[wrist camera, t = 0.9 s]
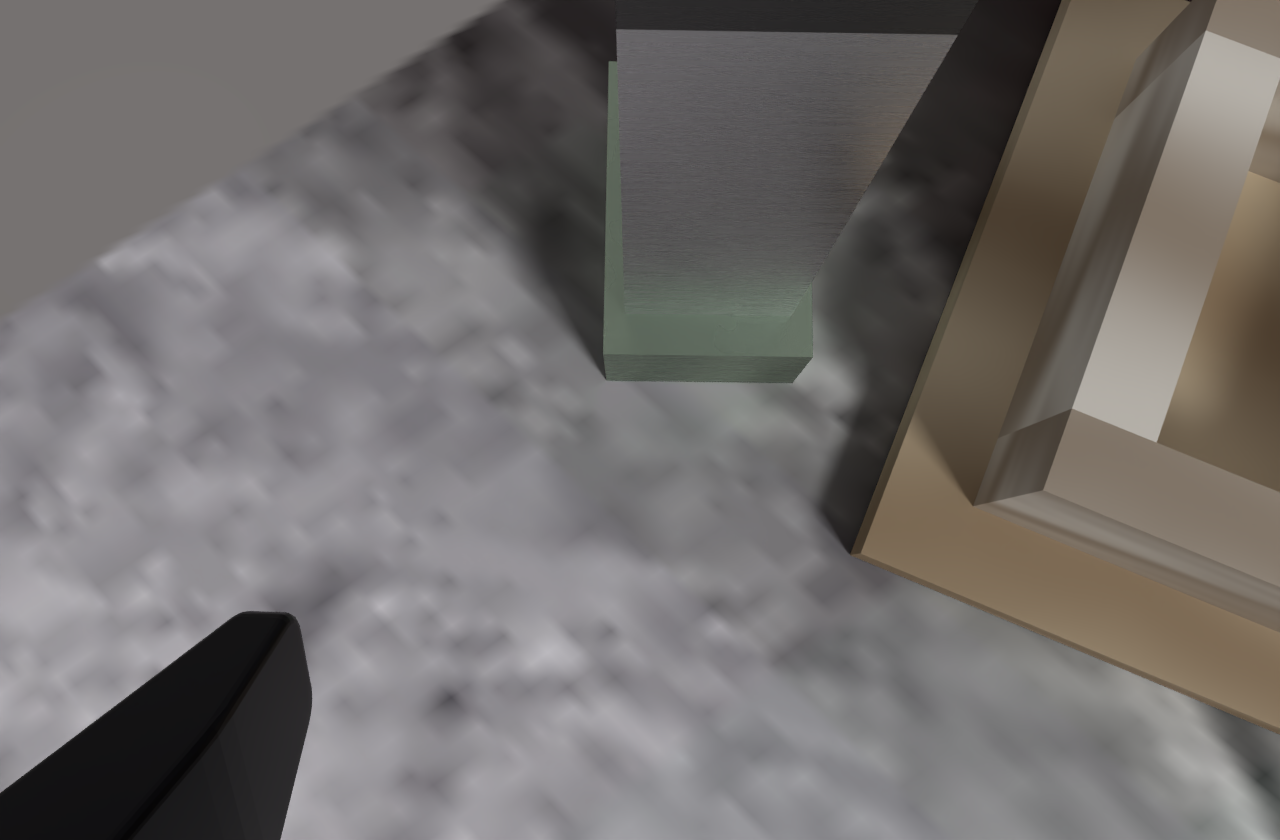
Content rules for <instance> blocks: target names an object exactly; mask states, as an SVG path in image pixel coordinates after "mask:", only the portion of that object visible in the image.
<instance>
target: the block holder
mask: <svg viewBox="0 0 1280 840" xmlns="http://www.w3.org/2000/svg"><path fill="white" fill-rule="evenodd" d="M850 555H851V556H854V557H856V558H859V559H861V560H863V561H866V562H868V563H871V564H873V565H875V566H878V567H880V568H883V569H885V570H887V571H890V572H892V573H895V574H897V575H899V576H902V577H904V578H906V579H909V580H911V581H914V582H916V583H918V584H921V585H923V586H926V587H928V588H930V589H933V590H935V591H938V592H940V593H942V594H945V595H947V596H950V597H952V598H954V599H957V600H959V601H962V602H964V603H966V604H969V605H971V606H974V607H976V608H978V609H981V610H983V611H985V612H988V613H990V614H993V615H995V616H997V617H1000V618H1002V619H1005V620H1007V621H1009V622H1012V623H1014V624H1017V625H1019V626H1021V627H1024V628H1026V629H1029V630H1031V631H1033V632H1036V633H1038V634H1041V635H1043V636H1045V637H1048V638H1050V639H1053V640H1055V641H1057V642H1060V643H1062V644H1064V645H1067V646H1069V647H1072V648H1074V649H1076V650H1079V651H1081V652H1084V653H1086V654H1088V655H1091V656H1093V657H1096V658H1098V659H1100V660H1103V661H1105V662H1108V663H1110V664H1112V665H1115V666H1117V667H1120V668H1122V669H1124V670H1127V671H1129V672H1132V673H1134V674H1136V675H1139V676H1141V677H1143V678H1146V679H1148V680H1151V681H1153V682H1155V683H1158V684H1160V685H1163V686H1165V687H1167V688H1170V689H1172V690H1175V691H1177V692H1179V693H1182V694H1184V695H1187V696H1189V697H1191V698H1194V699H1196V700H1199V701H1201V702H1203V703H1206V704H1208V705H1211V706H1213V707H1215V708H1218V709H1220V710H1222V711H1225V712H1227V713H1230V714H1232V715H1234V716H1237V717H1239V718H1242V719H1244V720H1246V721H1249V722H1251V723H1254V724H1256V725H1258V726H1261V727H1263V728H1266V729H1268V730H1270V731H1273V732H1275V733H1278V734H1280V0H1192V1H1191V2H1188V1H1186V0H1062V1H1061V4H1060V6H1059V9H1058V11H1057V14H1056V17H1055V19H1054V22H1053V25H1052V27H1051V30H1050V32H1049V35H1048V38H1047V40H1046V43H1045V46H1044V48H1043V51H1042V53H1041V56H1040V59H1039V61H1038V64H1037V66H1036V69H1035V72H1034V74H1033V77H1032V80H1031V82H1030V85H1029V87H1028V90H1027V93H1026V95H1025V98H1024V101H1023V103H1022V106H1021V108H1020V111H1019V114H1018V116H1017V119H1016V121H1015V124H1014V127H1013V129H1012V132H1011V135H1010V137H1009V140H1008V142H1007V145H1006V148H1005V150H1004V153H1003V156H1002V158H1001V161H1000V163H999V166H998V169H997V171H996V174H995V177H994V179H993V182H992V184H991V187H990V190H989V192H988V195H987V197H986V200H985V203H984V205H983V208H982V211H981V213H980V216H979V218H978V221H977V224H976V226H975V229H974V232H973V234H972V237H971V239H970V242H969V245H968V247H967V250H966V252H965V255H964V258H963V260H962V263H961V266H960V268H959V271H958V273H957V276H956V279H955V281H954V284H953V287H952V289H951V292H950V294H949V297H948V300H947V302H946V305H945V307H944V310H943V313H942V315H941V318H940V321H939V323H938V326H937V328H936V331H935V334H934V336H933V339H932V342H931V344H930V347H929V349H928V352H927V355H926V357H925V360H924V363H923V365H922V368H921V370H920V373H919V376H918V378H917V381H916V383H915V386H914V389H913V391H912V394H911V397H910V399H909V402H908V404H907V407H906V410H905V412H904V415H903V418H902V420H901V423H900V425H899V428H898V431H897V433H896V436H895V438H894V441H893V444H892V446H891V449H890V452H889V454H888V457H887V459H886V462H885V465H884V467H883V470H882V473H881V475H880V478H879V480H878V483H877V486H876V488H875V491H874V494H873V496H872V499H871V501H870V504H869V507H868V509H867V512H866V514H865V517H864V520H863V522H862V525H861V528H860V530H859V533H858V535H857V538H856V541H855V543H854V546H853V549H852V551H851V554H850Z"/></svg>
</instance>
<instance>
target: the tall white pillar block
mask: <svg viewBox="0 0 1280 840" xmlns="http://www.w3.org/2000/svg"><path fill="white" fill-rule="evenodd" d="M977 2H978V0H615V3H616V37H617V62H616V61H609V74H608V126H607V177H606V228H605V280H604V331H603V358H604V365H605V373H606V380H615V381H686V382H756V383H793V382H794V380H795V379H796V378H797V376H798V375H799V374H800V373H801V371H802V370H803V369H804V368H805V366H806V365H807V364H808V363H809V361H810V360H811V359H812V358H813V333H812V281H813V279H814V277H815V275H816V274H817V272H818V270H819V269H820V267H821V265H822V264H823V262H824V260H825V259H826V257H827V255H828V253H829V252H830V250H831V248H832V247H833V245H834V243H835V242H836V240H837V238H838V237H839V235H840V233H841V232H842V230H843V228H844V226H845V225H846V223H847V221H848V220H849V218H850V216H851V215H852V213H853V211H854V210H855V208H856V206H857V204H858V203H859V201H860V199H861V198H862V196H863V194H864V193H865V191H866V189H867V188H868V186H869V184H870V183H871V181H872V179H873V177H874V176H875V174H876V172H877V171H878V169H879V167H880V166H881V164H882V162H883V161H884V159H885V157H886V156H887V154H888V152H889V150H890V149H891V147H892V145H893V144H894V142H895V140H896V139H897V137H898V135H899V134H900V132H901V130H902V128H903V127H904V125H905V123H906V122H907V120H908V118H909V117H910V115H911V113H912V112H913V110H914V108H915V107H916V105H917V103H918V101H919V100H920V98H921V96H922V95H923V93H924V91H925V90H926V88H927V86H928V85H929V83H930V81H931V80H932V78H933V76H934V74H935V73H936V71H937V69H938V68H939V66H940V64H941V63H942V61H943V59H944V58H945V56H946V54H947V52H948V51H949V49H950V47H951V46H952V44H953V42H954V41H955V39H956V37H957V36H958V34H959V32H960V31H961V29H962V27H963V25H964V24H965V22H966V20H967V19H968V17H969V15H970V14H971V12H972V10H973V9H974V7H975V5H976V3H977Z"/></svg>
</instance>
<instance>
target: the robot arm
mask: <svg viewBox="0 0 1280 840" xmlns="http://www.w3.org/2000/svg"><path fill="white" fill-rule="evenodd" d="M311 708H312V688H311V682H310V677H309V672H308V666H307V661H306V655H305V650H304V645H303V639H302V634H301V629H300V625H299V623H298V621H297V619H296V617H294V616H293V615H291V614H289V613H286V612H260V611H247V612H242V613H239V614H237V615H235V616H234V617H232V618H231V619H229V620H228V621H227V622H225V623H224V624H223V625H221V626H220V627H219V628H217V629H216V630H215V631H214V632H212V633H211V634H210V635H208V636H207V637H206V638H204V639H203V640H202V641H200V642H199V643H198V644H196V645H195V646H194V647H192V648H191V649H190V650H188V651H187V652H186V653H184V654H183V655H182V656H181V657H179V658H178V659H177V660H175V661H174V662H173V663H171V664H170V665H169V666H167V667H166V668H165V669H163V670H162V671H161V672H159V673H158V674H157V675H155V676H154V677H153V678H151V679H150V680H149V681H148V682H146V683H145V684H144V685H142V686H141V687H140V688H138V689H137V690H136V691H134V692H133V693H132V694H130V695H129V696H128V697H126V698H125V699H124V700H122V701H121V702H120V703H118V704H117V705H116V706H115V707H113V708H112V709H111V710H109V711H108V712H107V713H105V714H104V715H103V716H101V717H100V718H99V719H97V720H96V721H95V722H93V723H92V724H91V725H89V726H88V727H87V728H85V729H84V730H83V731H82V732H80V733H79V734H78V735H76V736H75V737H74V738H72V739H71V740H70V741H68V742H67V743H66V744H64V745H63V746H62V747H60V748H59V749H58V750H56V751H55V752H54V753H52V754H51V755H50V756H48V757H47V758H46V759H45V760H43V761H42V762H41V763H39V764H38V765H37V766H35V767H34V768H33V769H31V770H30V771H29V772H27V773H26V774H25V775H23V776H22V777H21V778H19V779H18V780H17V781H15V782H14V783H13V784H12V785H10V786H9V787H8V788H6V789H5V790H4V791H2V792H1V793H0V840H280V839H281V835H282V831H283V827H284V823H285V819H286V814H287V810H288V806H289V802H290V798H291V794H292V790H293V786H294V782H295V778H296V774H297V770H298V766H299V762H300V758H301V753H302V749H303V745H304V741H305V737H306V733H307V729H308V725H309V721H310V716H311Z"/></svg>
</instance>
